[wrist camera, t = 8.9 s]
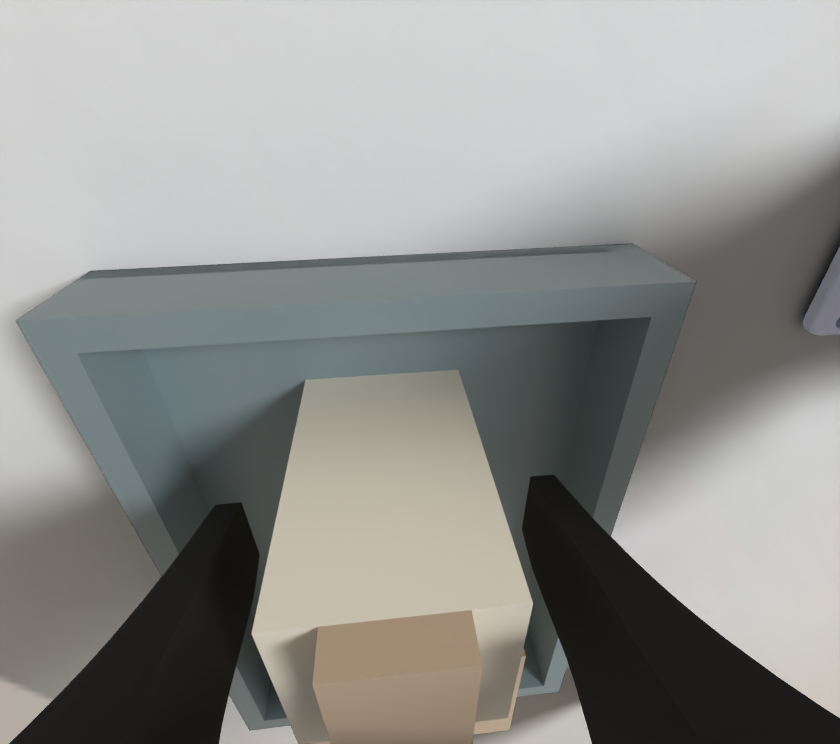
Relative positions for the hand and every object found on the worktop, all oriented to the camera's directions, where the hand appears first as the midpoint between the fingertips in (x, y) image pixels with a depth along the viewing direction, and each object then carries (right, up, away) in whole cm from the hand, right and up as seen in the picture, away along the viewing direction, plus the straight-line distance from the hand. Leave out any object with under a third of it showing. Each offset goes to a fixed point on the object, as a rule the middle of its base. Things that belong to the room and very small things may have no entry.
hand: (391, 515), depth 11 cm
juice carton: (0, +2, +3) cm, 3 cm away
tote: (0, -2, +6) cm, 6 cm away
